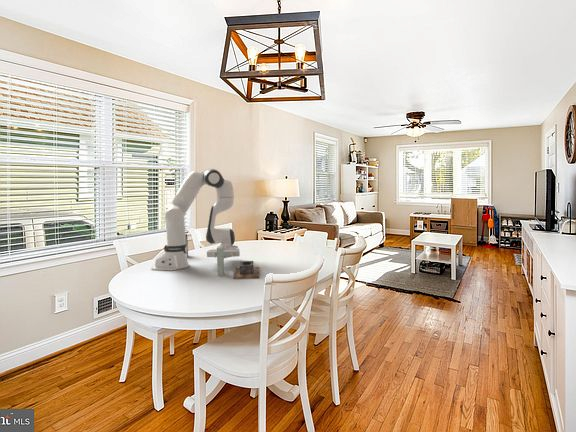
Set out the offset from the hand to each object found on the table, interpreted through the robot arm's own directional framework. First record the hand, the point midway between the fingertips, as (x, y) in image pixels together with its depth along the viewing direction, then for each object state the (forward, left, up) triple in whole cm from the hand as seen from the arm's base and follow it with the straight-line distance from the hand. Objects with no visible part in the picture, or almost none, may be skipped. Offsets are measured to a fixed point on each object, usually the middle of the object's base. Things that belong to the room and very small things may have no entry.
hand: (222, 255), depth 201 cm
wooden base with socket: (+15, -9, -9) cm, 20 cm away
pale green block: (0, -9, -9) cm, 13 cm away
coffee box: (-35, +43, -9) cm, 56 cm away
